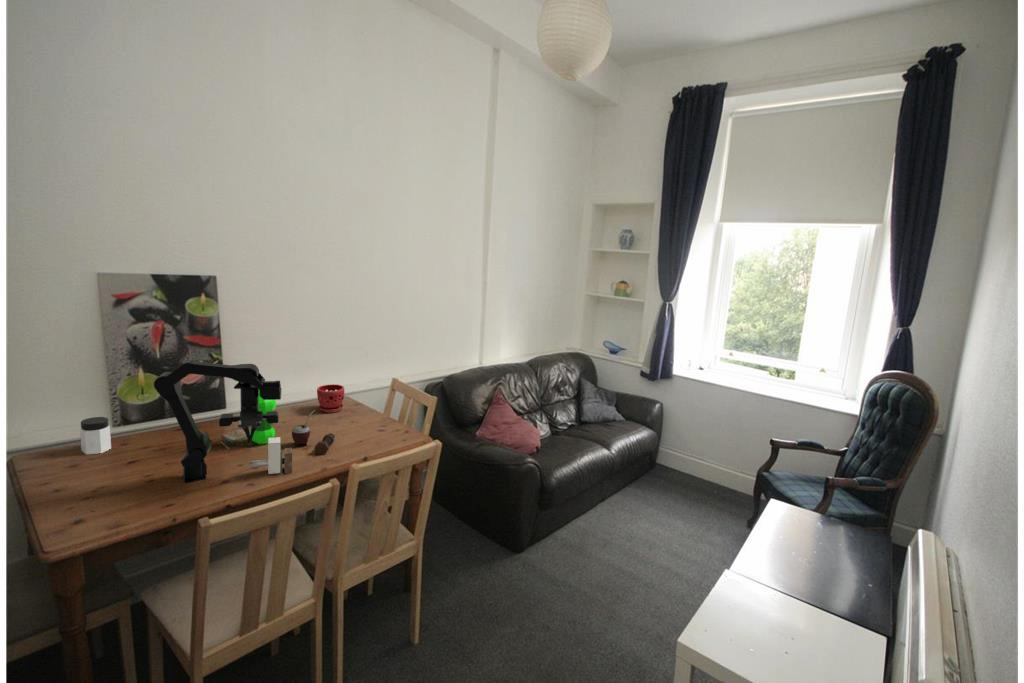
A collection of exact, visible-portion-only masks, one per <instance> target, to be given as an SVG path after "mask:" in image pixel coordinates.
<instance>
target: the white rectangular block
mask: <svg viewBox="0 0 1024 683" xmlns="http://www.w3.org/2000/svg"><path fill="white" fill-rule="evenodd" d="M267 446H268V452H267V453H268V454H267V455H268V458H267V460H268V466H267V467H268V468H267V469H268V475H274V474H277V473H280V471H282V469H283V464H282V458H283V452H282V451H281V437H280V436H279V437H278V436H277V437H275V436H274V437H273V438H268V443H267Z"/></svg>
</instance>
